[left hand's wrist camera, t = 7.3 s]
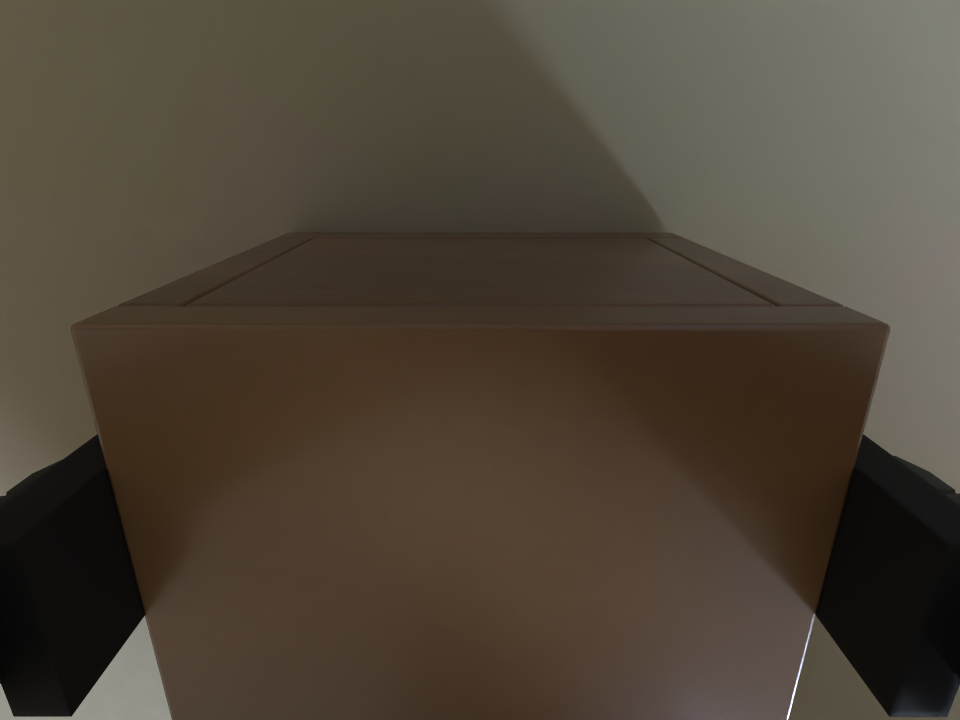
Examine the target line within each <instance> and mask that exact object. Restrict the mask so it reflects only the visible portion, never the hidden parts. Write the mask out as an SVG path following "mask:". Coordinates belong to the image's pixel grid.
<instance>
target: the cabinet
mask: <svg viewBox="0 0 960 720" xmlns="http://www.w3.org/2000/svg"><path fill="white" fill-rule="evenodd" d="M889 332H890V327H889V325H888V324H886V323H883V322H881V321H879V320H876V319H874V318H871V317H869V316H867V315H864V314H862V313H860V312H857V311H855V310H853V309H850V308H848V307H844V306H843V305H841V304H839V303H836V302H834V301H832V300H829V299H827V298H825V297H822V296H820V295H817V294H815V293H813V292H810V291H808V290H806V289H803V288H801V287H798V286H796V285H794V284H791V283H789V282H787V281H784V280H782V279H779V278H777V277H775V276H772V275H770V274H768V273H765V272H763V271H761V270H758V269H756V268H753V267H751V266H749V265H746V264H744V263H742V262H739V261H737V260H734V259H732V258H730V257H727V256H725V255H723V254H720V253H718V252H715V251H713V250H711V249H708V248H706V247H704V246H701V245H699V244H696V243H694V242H692V241H689V240H687V239H685V238H682V237H680V236H677V235H675V234H673V233H287V234H285V235H283V236H280V237H278V238H276V239H273V240H271V241H269V242H266V243H264V244H262V245H259V246H257V247H255V248H252V249H250V250H247V251H245V252H243V253H240V254H238V255H236V256H233V257H231V258H229V259H226V260H224V261H221V262H219V263H217V264H214V265H212V266H210V267H207V268H205V269H203V270H200V271H198V272H195V273H193V274H191V275H188V276H186V277H184V278H181V279H179V280H177V281H174V282H172V283H170V284H167V285H165V286H162V287H160V288H158V289H155V290H153V291H151V292H148V293H146V294H144V295H141V296H139V297H136V298H134V299H132V300H129V301H127V302H125V303H122V304H120V305H118V306H117V307H113V308H111V309H108V310H106V311H104V312H101V313H99V314H96V315H94V316H92V317H89V318H87V319H85V320H82V321H80V322H78V323H75V324H73V325H72V327H71V333H72V337H73V340H74V344H75V348H76V352H77V356H78V360H79V363H80V367H81V371H82V375H83V379H84V383H85V387H86V390H87V394H88V398H89V402H90V406H91V410H92V414H93V417H94V421H95V425H96V429H97V433H98V437H99V440H100V444H101V448H102V452H103V456H104V460H105V464H106V467H107V471H108V475H109V479H110V483H111V487H112V490H113V494H114V498H115V502H116V506H117V510H118V514H119V517H120V521H121V525H122V529H123V533H124V537H125V540H126V544H127V548H128V552H129V556H130V560H131V564H132V567H133V571H134V575H135V579H136V583H137V587H138V590H139V594H140V598H141V602H142V606H143V610H144V614H145V617H146V621H147V625H148V629H149V633H150V637H151V640H152V644H153V648H154V652H155V656H156V660H157V664H158V667H159V671H160V675H161V679H162V683H163V687H164V690H165V694H166V698H167V702H168V706H169V710H170V714H171V717H172V720H789V716H790V712H791V708H792V704H793V700H794V697H795V693H796V689H797V685H798V681H799V677H800V673H801V670H802V666H803V662H804V658H805V654H806V650H807V647H808V643H809V639H810V635H811V631H812V627H813V624H814V620H815V616H816V612H817V608H818V604H819V601H820V597H821V593H822V589H823V585H824V581H825V578H826V574H827V570H828V566H829V562H830V558H831V555H832V551H833V547H834V543H835V539H836V535H837V532H838V528H839V524H840V520H841V516H842V512H843V509H844V505H845V501H846V497H847V493H848V489H849V486H850V482H851V478H852V474H853V470H854V466H855V463H856V459H857V455H858V451H859V447H860V443H861V440H862V436H863V432H864V428H865V424H866V420H867V417H868V413H869V409H870V405H871V401H872V397H873V394H874V390H875V386H876V382H877V378H878V374H879V371H880V367H881V363H882V359H883V355H884V351H885V347H886V344H887V340H888V336H889Z"/></svg>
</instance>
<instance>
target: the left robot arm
mask: <svg viewBox="0 0 960 720" xmlns="http://www.w3.org/2000/svg"><path fill="white" fill-rule="evenodd" d="M144 616H145V614H144V610H143V606H142V602H141V598H140V594H139V590H138V587H137V583H136V579H135V575H134V571H133V567H132V564H131V560H130V556H129V552H128V548H127V544H126V540H125V537H124V533H123V529H122V525H121V521H120V517H119V514H118V510H117V506H116V502H115V498H114V494H113V490H112V487H111V483H110V479H109V475H108V471H107V467H106V464H105V460H104V456H103V452H102V448H101V444H100V440H99V437H98V434H97V435H96V436H95V437H93V438H92V439H90V440H89V441H88V442H86V443H85V444H84V445H82V446H81V447H80V448H78V449H77V450H75V451H74V452H73V453H71V454H70V455H69V456H67V457H66V458H65V459H63V460H61V461H59V462H56V463H54V464H52V465H50V466H48V467H46V468H44V469H41V470H39V471H37V472H35V473H33V474H31V475H30V476H28V477H27V478H26V479H24V480H23V481H21V482H20V483H19V484H17V485H16V486H14V487H13V488H12V489H10V490H9V491H7V494H6V496H1V497H0V683H1V685H2V687H3V690H4V692H5V695H6V698H7V700H8V703H9V705H10V708H11V710H12V713H13V716H72V715H73V714H74V712H75V711H76V709H77V708H78V707H79V705H80V704H81V703H82V701H83V700H84V698H85V697H86V696H87V694H88V693H89V692H90V690H91V689H92V687H93V686H94V685H95V683H96V682H97V680H98V679H99V678H100V676H101V675H102V674H103V672H104V671H105V669H106V668H107V667H108V665H109V664H110V663H111V661H112V660H113V658H114V657H115V656H116V654H117V653H118V652H119V650H120V649H121V647H122V646H123V645H124V643H125V642H126V640H127V639H128V638H129V636H130V635H131V634H132V632H133V631H134V629H135V628H136V627H137V625H138V624H139V623H140V621H141V620H142V618H143V617H144ZM816 616H817V618H818V619H819V620H820V622H821V623H822V624H823V626H824V627H825V629H826V630H827V631H828V633H829V634H830V635H831V637H832V638H833V640H834V641H835V642H836V644H837V645H838V647H839V648H840V649H841V651H842V652H843V653H844V655H845V656H846V658H847V659H848V660H849V662H850V663H851V664H852V666H853V667H854V669H855V670H856V671H857V673H858V674H859V675H860V677H861V678H862V680H863V681H864V682H865V684H866V685H867V686H868V688H869V689H870V691H871V692H872V693H873V695H874V696H875V698H876V699H877V700H878V702H879V703H880V704H881V706H882V707H883V709H884V710H885V711H886V713H887V714H888V715H889V717H947V715H948V713H949V710H950V708H951V705H952V703H953V700H954V697H955V695H956V692H957V690H958V687H959V685H960V494H956V493H955V490H954V489H953V488H951V487H950V486H949V485H947V484H946V483H944V482H943V481H942V480H940V479H939V478H937V477H936V476H935V475H933V474H932V473H930V472H929V471H927V470H924V469H922V468H920V467H918V466H916V465H914V464H911V463H909V462H907V461H905V460H903V459H901V458H898V457H896V456H892V455H891V454H889V453H888V452H887V451H885V450H884V449H883V448H881V447H880V446H878V445H877V444H876V443H874V442H873V441H872V440H870V439H869V438H868V437H866V436H865V435H863V436H862V440H861V443H860V447H859V451H858V455H857V459H856V463H855V466H854V470H853V474H852V478H851V482H850V486H849V489H848V493H847V497H846V501H845V505H844V509H843V512H842V516H841V520H840V524H839V528H838V532H837V535H836V539H835V543H834V547H833V551H832V555H831V558H830V562H829V566H828V570H827V574H826V578H825V581H824V585H823V589H822V593H821V597H820V601H819V604H818V608H817V612H816Z"/></svg>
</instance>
